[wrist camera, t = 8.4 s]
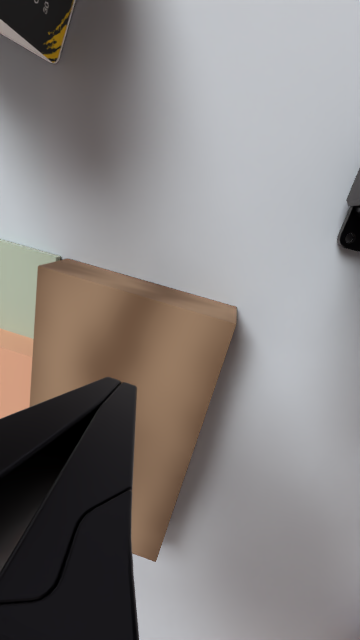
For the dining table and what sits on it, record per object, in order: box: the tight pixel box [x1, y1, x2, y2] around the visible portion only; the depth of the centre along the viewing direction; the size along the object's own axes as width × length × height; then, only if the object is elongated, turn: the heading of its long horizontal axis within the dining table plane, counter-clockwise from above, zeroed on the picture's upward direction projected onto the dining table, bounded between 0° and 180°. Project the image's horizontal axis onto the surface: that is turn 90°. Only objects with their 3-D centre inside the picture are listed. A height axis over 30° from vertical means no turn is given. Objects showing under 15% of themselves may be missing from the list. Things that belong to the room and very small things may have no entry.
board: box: [30, 259, 237, 562], centre depth 20 cm, size 11×20×3 cm, turn 166°
